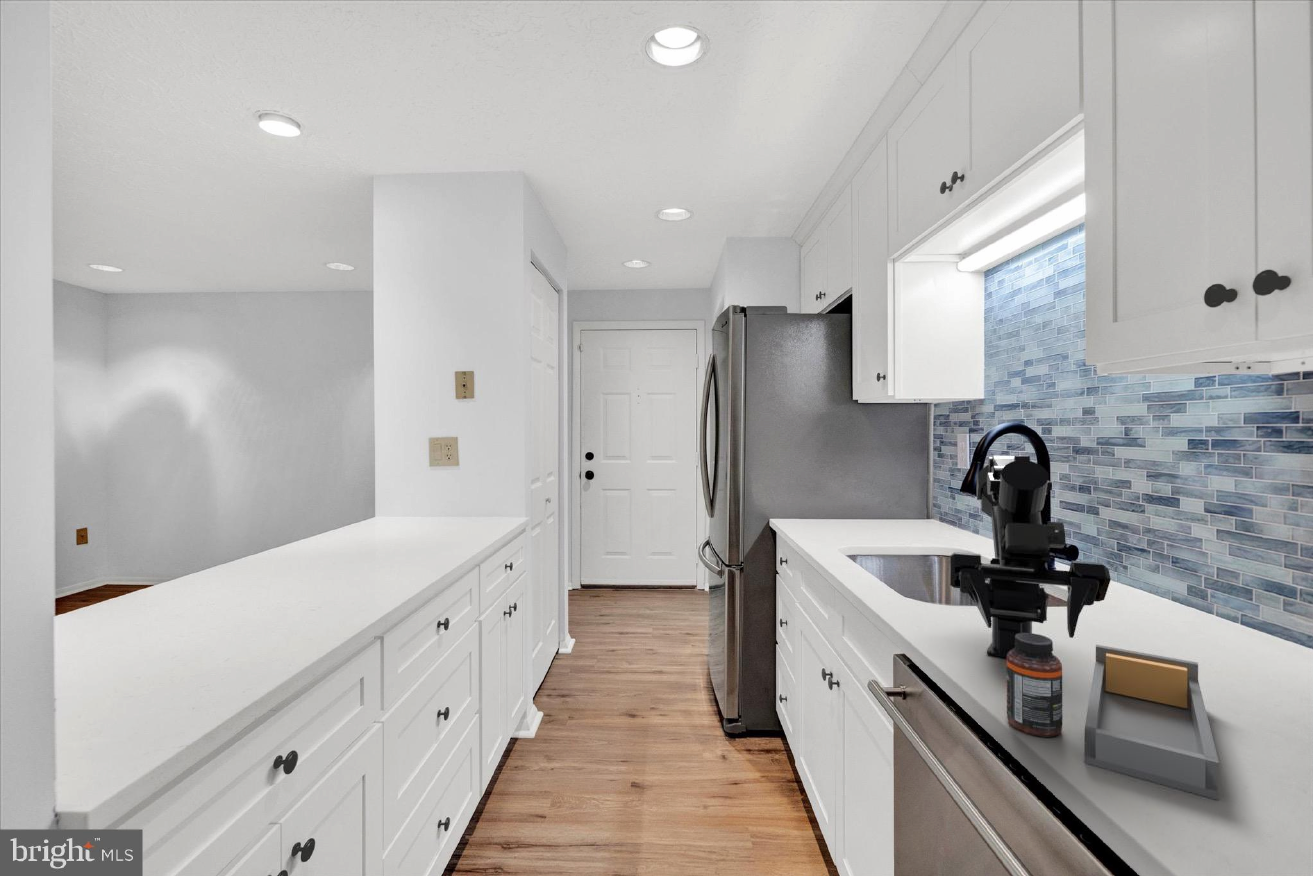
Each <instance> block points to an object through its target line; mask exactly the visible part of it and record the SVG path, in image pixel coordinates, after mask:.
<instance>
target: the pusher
mask: <svg viewBox="0 0 1313 876" xmlns="http://www.w3.org/2000/svg"><path fill="white" fill-rule="evenodd" d="M1106 691H1108V692H1113V693H1117V694H1122V695H1127V696H1131V697H1136V698H1141V699H1145V700H1150V701H1155V702H1159V703H1164V704H1169V705H1173V706H1178V707H1183V708H1187V668H1185V667H1179V666H1174V665H1168V664H1163V663H1157V662H1152V661H1146V660H1141V659H1135V658H1130V657H1124V656H1119V655H1113V654H1108V653H1106Z"/></svg>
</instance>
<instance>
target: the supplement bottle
mask: <svg viewBox="0 0 1313 876" xmlns="http://www.w3.org/2000/svg"><path fill="white" fill-rule="evenodd" d="M1053 644H1054V643H1053V640H1052V639H1051V638H1050V637H1047V636H1045V635H1042V634H1037V633H1033V632H1032V633H1019V634H1016V635H1015V648H1014V649H1012V650H1010V651H1009V652H1008V654H1007V657H1006V719H1007V721H1008V723H1009V724H1010V725H1011V726H1012V727H1014V728H1015V729H1017V730H1018V731H1020V732H1023V733H1025V734H1028V735H1031V736H1036V737H1043V738H1047V737H1048V738H1049V737H1056V736H1058V735H1060V734H1061V733H1062V731H1063V666H1062V662H1061V660H1060V659H1059V658H1058V657H1057V656H1056V655H1054V654H1053V651H1054V645H1053Z"/></svg>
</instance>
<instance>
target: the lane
mask: <svg viewBox="0 0 1313 876" xmlns="http://www.w3.org/2000/svg"><path fill="white" fill-rule="evenodd" d="M1106 653H1108V654H1113V655H1119V656H1124V657H1130V658H1135V659H1141V660H1146V661H1152V662H1157V663H1163V664H1168V665H1174V666H1179V667H1185V668H1187V708H1183V707H1178V706H1173V705H1169V704H1164V703H1159V702H1155V701H1150V700H1145V699H1141V698H1136V697H1131V696H1127V695H1122V694H1117V693H1113V692H1108V691H1106ZM1089 693H1090V694H1089V700H1088V706H1087V712H1086V717H1085V722H1084V723H1085V724H1084V755H1083V756H1084V762H1083V763H1084V764H1086V765H1087V764H1088V765H1092V766H1095V767H1099V768H1101V769H1104V770H1105V769H1106V770H1108V771H1112V772H1117V773H1120V774H1124V775H1127V776H1131V777H1133V778H1138V779H1141V780H1144V781H1149V782H1152V783H1156V784H1159V785H1162V786H1165V787H1166V786H1167V787H1170V788H1173V789H1176V788H1177V789H1176V790H1180V789H1181V790H1180V791H1184V790H1185V791H1184V792H1187V793H1191V792H1192V794H1194V795H1198V794H1199V795H1198V796H1201V795H1203V796H1202V797H1205V796H1206V797H1205V798H1209V797H1210V798H1209V799H1213V800H1217V801H1219V800H1220V799H1219V798H1220V761H1219V757H1218V753H1217V749H1216V746H1215V742H1214V741H1215V740H1214V737H1213V734H1212V729H1211V726H1210V722H1209V718H1208V713H1207V710H1206V705H1205V702H1204V698H1203V694H1202V690H1201V686H1200V682H1199V662H1197V661H1192V660H1191V661H1190V660H1187V659H1182V658H1181V659H1180V658H1174V657H1168V656H1164V655H1163V656H1162V655H1157V654H1153V653H1152V654H1151V653H1146V652H1141V651H1135V650H1129V649H1124V648H1118V647H1112V646H1107V645H1102V644H1101V645H1100V644H1095V662H1094V668H1093V674H1092V682H1091V687H1090V692H1089Z"/></svg>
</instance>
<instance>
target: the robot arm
mask: <svg viewBox="0 0 1313 876" xmlns="http://www.w3.org/2000/svg"><path fill="white" fill-rule="evenodd" d="M1049 491H1053V481H1050V480H1049V471H1047V470H1046V468H1045V467H1044V466H1042V465H1041V464H1039V463H1037V462H1035V461H1031V456H1030V455H992V456H989V457H988V463H987V465H986V466H984V467H983V468H982V469H980V471H978V472H977V476H976V501H980V508H981V509H980V510H981V511H982V512H983V513H984V514H986V515H987V516H988V518H989V517H990V519H991V528H992V529H991V531H992V538H993V539H992V540H993V550H994V557H992V559H990V561H989V562H990V563H982V556H981V554H980V553H971V552H956V551H954V552H953V553H952V554H951V555H950V556H949V557H950V558H949V561H950V562H949V564H950V565H949V585H950V586H951V588H952V587H953V588H955V589H959V591H960V593H961V594H966V595H968V596H969V598H970V599H971V601H972V602H973V603H974V605H975V606H976V607H977V609H978V611H979V614H980V615H981V617H982V619H983V621H984V623H985V625H986V627H987V628H988V629H991V630H992V633H991V643H990V645H989V646H988V648H987V649H986V654H987V655H989V654H990V656H995V657H1000V658H1006V657H1007V654H1008V652H1009V651H1010V650H1012V649H1014V648H1015V635H1016V634H1019V633H1033V623H1039V624H1044V622H1047V618H1048V617H1047V615H1048V614H1047V613H1048V607H1049V606H1048V604H1049V598H1050V597H1049V593H1047V592H1046V590H1045V585H1049V586H1060V587H1067V588H1066V590H1067V598H1066V599H1067V600H1066V614H1067V615H1066V620H1067V623H1066V624H1067V631H1068V632H1067V633H1068V636H1069V638H1070V639H1071V638H1072V639H1073V638H1074V636H1075V632H1076V628H1077V624H1078V620H1079V617H1080V614H1081V612H1082V611H1083V609H1084V607H1085V606H1092V605H1094V603H1095V602H1096V603H1097V602H1101V601H1104V600H1105V598H1106V596H1107V592H1108V589H1109V587H1110V586H1109V585H1110V583H1111V580H1112V579H1111V575H1110V570H1109V568H1108V567H1107V566H1106V565H1105V564H1103V563H1102V562H1096V561H1095V562H1093V561H1079V560H1071V562H1070V565H1069V570H1058V569H1048V564H1050V563H1051V553H1050V548H1052V549H1053V548H1055V549H1056V548H1057V549H1063V548H1065V547H1064V546H1065V545H1066V540H1067V539H1066V531H1065V530H1066V529H1065V525H1064V522H1060V521H1047V524H1044V523H1042V516H1041V511H1042V510H1043V508H1044V506H1045V501H1046V495H1048V493H1049ZM1006 659H1007V658H1006Z"/></svg>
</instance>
